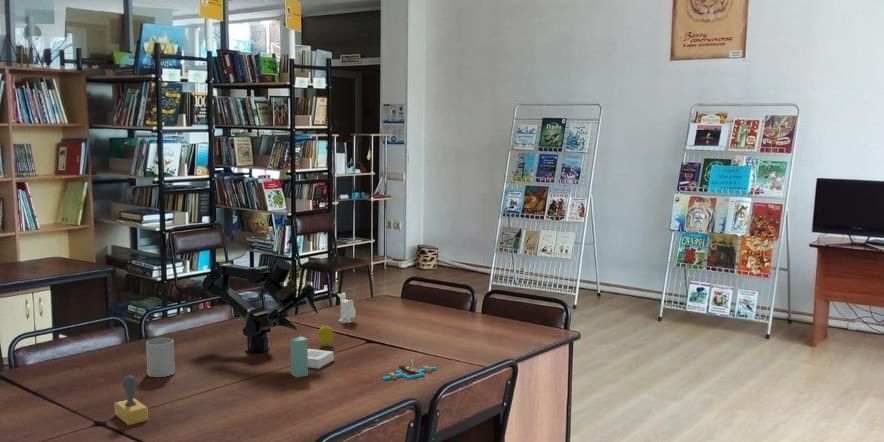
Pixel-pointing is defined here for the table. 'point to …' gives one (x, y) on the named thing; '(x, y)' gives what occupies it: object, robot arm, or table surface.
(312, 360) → the plinth
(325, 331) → the lemon
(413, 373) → the gear mechanism
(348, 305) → the white upright figurine
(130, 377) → the rubber stamp
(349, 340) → the table surface
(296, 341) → the pillar
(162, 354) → the mug
